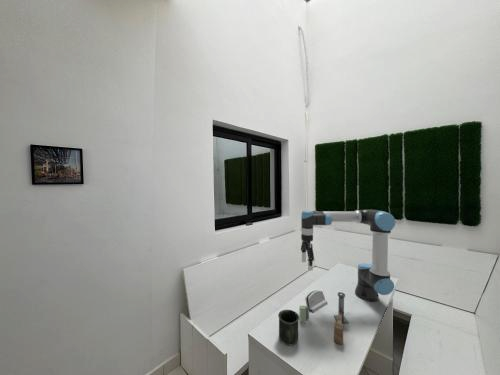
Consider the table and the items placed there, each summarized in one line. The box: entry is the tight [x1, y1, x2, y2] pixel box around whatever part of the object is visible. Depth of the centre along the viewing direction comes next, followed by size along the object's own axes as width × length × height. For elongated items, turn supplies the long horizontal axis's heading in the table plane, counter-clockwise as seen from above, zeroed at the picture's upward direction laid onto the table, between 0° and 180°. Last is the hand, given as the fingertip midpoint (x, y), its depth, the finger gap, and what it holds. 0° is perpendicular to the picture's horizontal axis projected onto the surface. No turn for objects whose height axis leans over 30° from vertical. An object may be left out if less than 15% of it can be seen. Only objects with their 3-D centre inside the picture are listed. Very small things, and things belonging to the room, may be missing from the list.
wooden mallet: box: [333, 312, 344, 346], centre depth 110 cm, size 18×4×8 cm, turn 152°
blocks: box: [299, 305, 310, 323], centre depth 121 cm, size 6×6×8 cm
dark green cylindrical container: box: [277, 309, 300, 346], centre depth 107 cm, size 11×15×12 cm
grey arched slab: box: [304, 290, 328, 313], centre depth 135 cm, size 17×5×10 cm, turn 126°
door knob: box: [333, 291, 350, 325], centre depth 120 cm, size 6×6×16 cm
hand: (306, 265), depth 132 cm, fingers open, 13 cm apart
